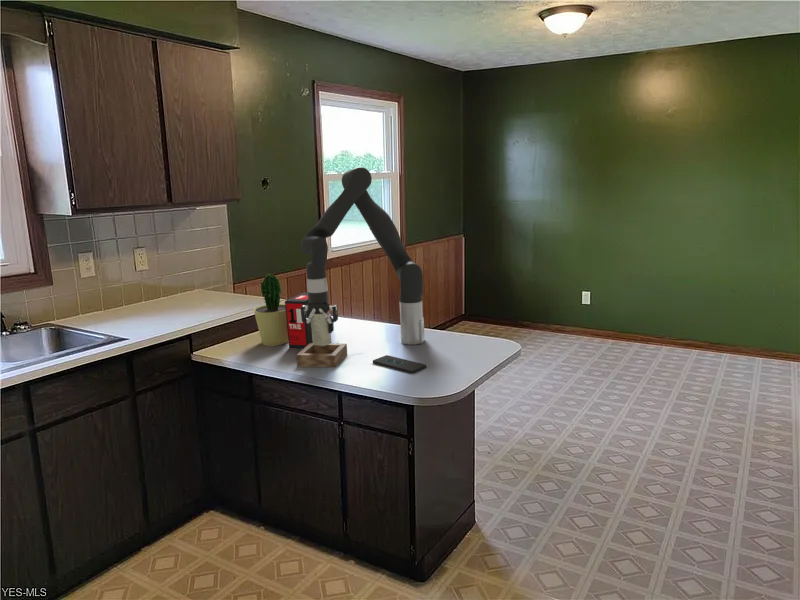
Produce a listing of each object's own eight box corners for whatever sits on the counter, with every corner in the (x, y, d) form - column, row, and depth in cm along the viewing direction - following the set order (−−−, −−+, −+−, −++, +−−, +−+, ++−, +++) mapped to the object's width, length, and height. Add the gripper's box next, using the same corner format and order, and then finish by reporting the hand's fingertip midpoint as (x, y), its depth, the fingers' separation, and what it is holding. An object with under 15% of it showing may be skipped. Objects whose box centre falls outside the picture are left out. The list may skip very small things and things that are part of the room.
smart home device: (386, 354, 230) (427, 364, 217) (387, 358, 231) (427, 368, 217) (371, 360, 224) (412, 370, 211) (371, 364, 225) (412, 375, 211)
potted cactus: (267, 336, 268) (261, 269, 261) (299, 337, 264) (293, 269, 257) (250, 346, 253) (242, 276, 247) (283, 347, 249) (277, 276, 242)
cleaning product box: (307, 337, 263) (303, 292, 259) (326, 338, 261) (322, 292, 256) (289, 348, 248) (284, 301, 244) (308, 349, 245) (304, 301, 241)
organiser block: (347, 354, 236) (346, 343, 235) (335, 367, 222) (335, 355, 221) (311, 353, 239) (310, 343, 238) (297, 366, 225) (296, 354, 224)
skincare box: (331, 343, 229) (329, 312, 226) (323, 346, 226) (321, 315, 223) (320, 341, 233) (317, 310, 230) (311, 344, 229) (309, 313, 227)
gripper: (339, 287, 227) (342, 329, 230) (302, 287, 230) (306, 329, 233) (332, 291, 220) (336, 335, 223) (295, 292, 222) (299, 335, 226)
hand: (320, 332), depth 228 cm, fingers closed on skincare box, 7 cm apart
